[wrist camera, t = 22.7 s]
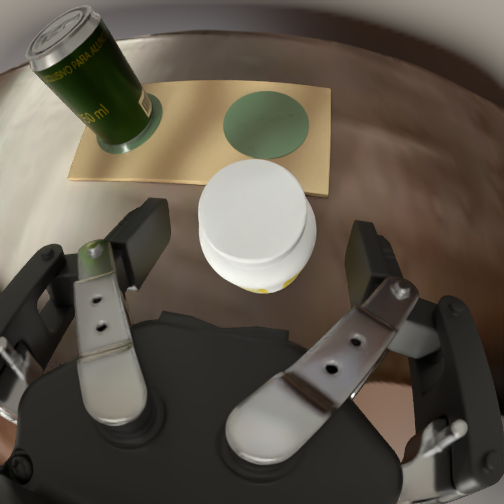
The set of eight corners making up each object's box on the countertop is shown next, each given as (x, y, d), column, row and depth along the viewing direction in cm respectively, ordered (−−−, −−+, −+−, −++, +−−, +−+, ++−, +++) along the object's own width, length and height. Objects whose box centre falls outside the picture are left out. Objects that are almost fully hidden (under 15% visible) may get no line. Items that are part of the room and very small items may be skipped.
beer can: (151, 90, 22) (96, -7, 11) (161, 132, 22) (92, 25, 10) (100, 115, 23) (30, 34, 11) (104, 159, 22) (15, 77, 10)
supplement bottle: (291, 206, 20) (304, 130, 11) (312, 282, 19) (348, 263, 10) (216, 225, 21) (170, 163, 11) (233, 302, 20) (194, 301, 10)
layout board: (70, 180, 22) (66, 177, 22) (104, 93, 24) (101, 89, 23) (326, 198, 20) (328, 194, 20) (329, 92, 22) (331, 87, 21)
